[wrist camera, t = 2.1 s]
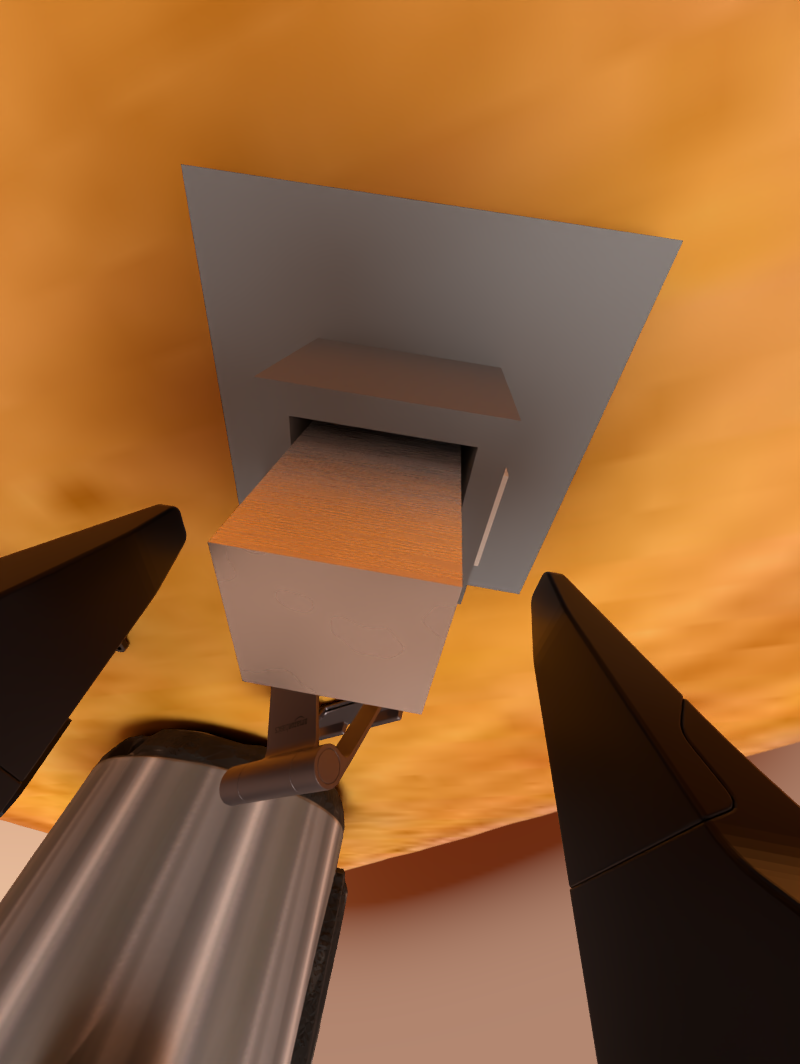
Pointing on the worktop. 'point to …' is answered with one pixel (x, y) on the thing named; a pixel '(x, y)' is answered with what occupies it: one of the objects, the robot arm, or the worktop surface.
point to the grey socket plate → (421, 338)
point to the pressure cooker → (173, 917)
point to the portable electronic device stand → (303, 747)
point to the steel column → (346, 566)
